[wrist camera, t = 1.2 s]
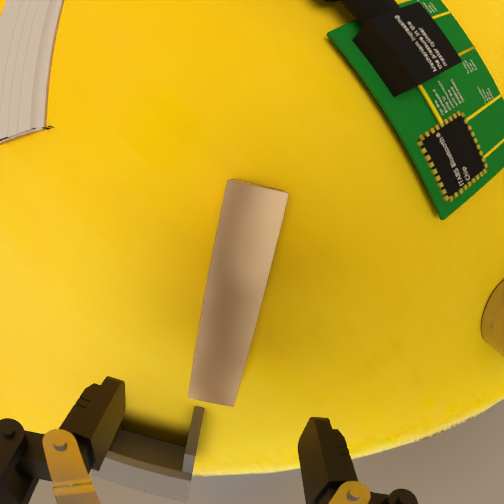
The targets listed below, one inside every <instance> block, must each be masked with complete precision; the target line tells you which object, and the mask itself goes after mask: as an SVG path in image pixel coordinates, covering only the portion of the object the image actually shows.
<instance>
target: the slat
mask: <svg viewBox="0 0 504 504" xmlns="http://www.w3.org/2000/svg"><path fill="white" fill-rule="evenodd" d="M288 195H289V193H287V192H285V191H283V190H279V189H275V188H271V187H266V186H262V185H258V184H253V183H249V182H244V181H239V180H235V179H230V180H228V181H227V186H226V190H225V195H224V200H223V204H222V209H221V214H220V219H219V224H218V229H217V233H216V238H215V243H214V249H213V254H212V259H211V264H210V269H209V274H208V280H207V285H206V290H205V296H204V301H203V307H202V313H201V318H200V324H199V330H198V336H197V342H196V348H195V354H194V360H193V366H192V373H191V379H190V386H189V392H188V398H191V399H195V400H200V401H205V402H210V403H215V404H220V405H225V406H231V407H234V404H235V400H236V397H237V393H238V389H239V386H240V382H241V378H242V375H243V371H244V367H245V364H246V360H247V356H248V353H249V349H250V345H251V341H252V338H253V334H254V330H255V326H256V323H257V319H258V315H259V311H260V307H261V303H262V300H263V296H264V292H265V288H266V284H267V280H268V276H269V272H270V268H271V264H272V260H273V256H274V252H275V248H276V244H277V240H278V236H279V232H280V228H281V224H282V220H283V216H284V211H285V207H286V203H287V199H288Z"/></svg>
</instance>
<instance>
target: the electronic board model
mask: <svg viewBox="0 0 504 504" xmlns="http://www.w3.org/2000/svg"><path fill="white" fill-rule="evenodd" d="M324 1H325V2H335V1H339V0H324ZM340 1H341V2H342V3H343V4H344V5H345V6H346V7H347V8H348V10H349V11H350V12H351V13H352V14H353V15H354V16H355V17H356V19H357V20H355V21H353V22H350V23H348V24H346V25H343V26H341V27H339V28H336V29H334V30H332V31H330V32H328V33H327V36H328V37H329V38H330V39H331V40H332V42H333V43H334V44H335V45H336V47H337V48H338V49H339V50H340V51H341V53H342V54H343V55H344V57H345V58H346V59H347V60H348V62H349V63H350V64H351V66H352V67H353V68H354V70H355V71H356V72H357V74H358V75H359V76H360V78H361V79H362V80H363V82H364V83H365V85H366V86H367V88H368V89H369V90H370V92H371V93H372V95H373V96H374V98H375V99H376V101H377V102H378V104H379V105H380V107H381V108H382V110H383V111H384V113H385V115H386V116H387V118H388V119H389V121H390V123H391V124H392V126H393V128H394V129H395V131H396V133H397V134H398V136H399V138H400V139H401V141H402V143H403V145H404V146H405V148H406V150H407V152H408V154H409V155H410V157H411V159H412V161H413V163H414V165H415V167H416V169H417V171H418V173H419V174H420V176H421V178H422V180H423V182H424V185H425V187H426V189H427V191H428V193H429V195H430V197H431V199H432V202H433V204H434V206H435V208H436V210H437V213H438V215H439V217H440V219H441V220H444V219H445V218H447V217H448V216H449V215H450V214H451V213H453V212H454V211H455V210H456V209H457V208H459V207H460V206H461V205H462V204H463V203H464V202H466V201H467V200H468V199H469V198H470V197H471V196H473V195H474V194H475V193H476V192H477V191H478V190H479V189H480V188H482V187H483V186H484V185H485V184H486V183H487V182H488V181H489V180H490V179H492V178H493V177H494V176H495V175H496V174H497V173H498V172H499V171H500V170H501V169H502V168H503V167H504V100H503V98H502V94H500V92H499V90H498V88H497V86H496V84H495V82H494V80H493V78H492V76H491V75H490V73H489V71H488V69H487V67H486V66H485V64H484V62H483V61H482V59H481V57H480V56H479V54H478V52H477V51H476V49H475V46H473V44H472V43H471V41H470V40H469V38H468V37H467V35H466V34H465V32H464V31H463V29H462V28H461V27H460V25H459V24H458V22H457V21H456V20H455V18H454V17H453V16H452V14H451V12H450V11H449V10H448V9H447V8H446V6H445V5H444V4H443V3H442V1H441V0H411V1H407V2H404V3H401V4H397V3H396V2H395V1H394V0H340Z"/></svg>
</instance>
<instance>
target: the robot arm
mask: <svg viewBox="0 0 504 504" xmlns="http://www.w3.org/2000/svg"><path fill="white" fill-rule="evenodd" d="M481 330H482V335H483V338H484V339H485V341H486V342H488V343H489V344H490V345H491V346H492V347H493V348H495V349H496V350H497V351H498V352H499V353H500V354H501V355H502V356H503V357H504V280H503V281H502V282H501V283H500V284H499V285H498V287H497V288H496V289H495V291H494V292H493V294H492V295H491V297H490V299H489V301H488V303H487V305H486V308H485V311H484V314H483V318H482V326H481ZM125 406H126V404H125V383H124V381H122V380H119V379H115V378H112V377H109V376H107V377H106V378H105V380H104V381H103V383H102V385H101V386H100V385H98V384H95V383H94V384H92V385H91V386H89V387H87V388H86V389H85V390H84V391H83V393H82V394H81V396H80V398H79V399H78V400H77V402H76V404H75V405H74V406H73V408H72V409H71V411H70V412H69V414H68V415H67V417H66V419H65V420H64V422H63V423H62V425H61V426H60V428H59V429H54V430H51V431H49V432H47V433H46V434H39V433H34V432H30V431H25V430H24V429H23V427H22V425H21V424H20V423H19V422H18V421H16V420H14V419H9V418H6V419H2V420H0V504H28V503H29V501H30V499H31V496H32V494H33V492H34V490H35V487H36V485H37V483H38V481H39V479H42V480H48V481H52V482H53V492H54V495H55V499H56V502H57V504H101V503H100V501H99V499H98V496H97V494H96V492H95V489H94V487H93V485H92V483H91V480H90V478H89V475H88V474H89V472H90V470H91V469H94V470H96V471H99V470H100V468H101V465H102V463H103V461H104V459H105V456H106V454H107V452H108V449H109V447H110V445H111V443H112V441H113V438H114V436H115V434H116V432H117V430H118V427H119V425H120V423H121V421H122V419H123V416H124V413H125ZM298 454H299V461H300V467H301V474H302V480H303V486H304V493H305V500H306V504H418V502H417V499H416V497H415V495H414V494H413V493H412V492H410V491H408V490H406V489H397V490H394V491H393V492H392V493H391V494H390V495H386V494H379V493H373V492H370V491H369V489H368V488H367V487H366V486H365V485H364V484H362V483H360V482H358V479H357V476H356V473H355V470H354V466H353V463H352V460H351V457H350V455H349V450H348V448H347V444H346V441H345V438H344V436H343V435H342V434H341V433H340V432H339V430H338V429H332V427H331V424H330V420H329V419H328V418H319V417H311V418H310V419H309V421H308V423H307V425H306V427H305V429H304V431H303V433H302V435H301V437H300V439H299V443H298Z"/></svg>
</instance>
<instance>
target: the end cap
mask: <svg viewBox="0 0 504 504" xmlns="http://www.w3.org/2000/svg"><path fill="white" fill-rule="evenodd" d="M203 411H204V408H201V407H196V406H195V409H194V413H193V418H192V422H191V427H190V431H189V436H188V440H187V445H186V447H185V446H181V445H176V444H172V443H168V442H164V441H160V440H156V439H153V438H149V437H145V436H142V435H139V434H135V433H132V432H129V431H126V430H123V429H120V425H119V427H118V430H117V432H116V434H115V436H114V438H113V441H112V443H111V445H110V447H109V449H108V452H107V454H106V456H105V459H104V461H103V463H102V465H101V468H100V470H99V471H96V470H94V469H92V472H93V475H95V476H98V477H101V478H103V479H106V480H109V481H112V482H114V483H117V484H120V485H123V486H126V487H130V488H133V489H136V490H140V491H143V492H146V493H150V494H154V495H158V496H162V497H166V498H170V499H174V500H179V501H184V502H187V501H188V495H189V488H190V483H191V477H192V472H193V466H194V461H195V455H196V450H197V444H198V439H199V433H200V428H201V422H202V417H203Z"/></svg>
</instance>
